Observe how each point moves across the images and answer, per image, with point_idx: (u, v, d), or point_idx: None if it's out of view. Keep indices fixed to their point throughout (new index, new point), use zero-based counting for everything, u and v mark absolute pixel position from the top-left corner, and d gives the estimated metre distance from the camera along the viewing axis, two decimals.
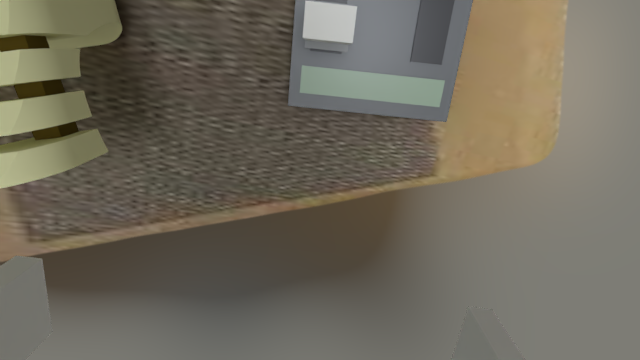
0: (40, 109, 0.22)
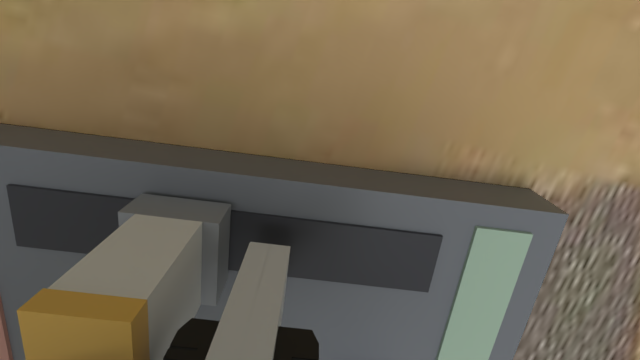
0: None
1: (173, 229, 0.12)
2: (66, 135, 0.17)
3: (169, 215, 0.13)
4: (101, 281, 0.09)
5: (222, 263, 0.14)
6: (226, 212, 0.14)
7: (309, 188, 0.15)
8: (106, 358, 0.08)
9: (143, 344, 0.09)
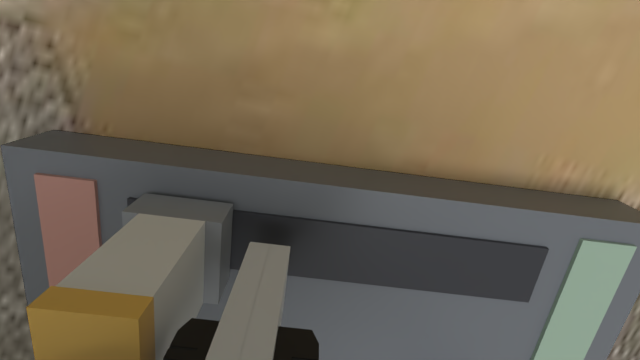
0: None
1: (177, 228, 0.12)
2: (172, 148, 0.17)
3: (172, 214, 0.13)
4: (108, 279, 0.09)
5: (224, 262, 0.15)
6: (228, 212, 0.14)
7: (423, 202, 0.15)
8: (113, 354, 0.09)
9: (149, 341, 0.09)
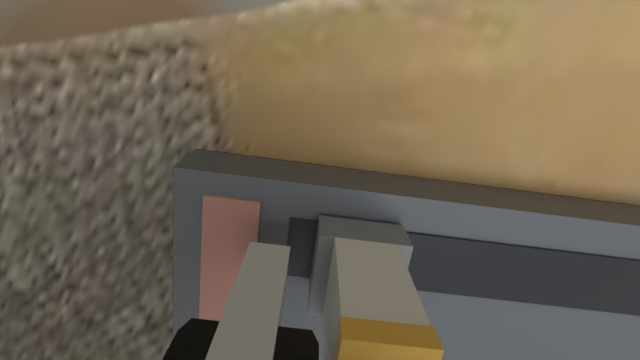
0: None
1: (382, 252, 0.13)
2: (315, 167, 0.17)
3: (364, 238, 0.14)
4: (377, 308, 0.10)
5: None
6: (406, 234, 0.15)
7: (573, 222, 0.16)
8: None
9: None
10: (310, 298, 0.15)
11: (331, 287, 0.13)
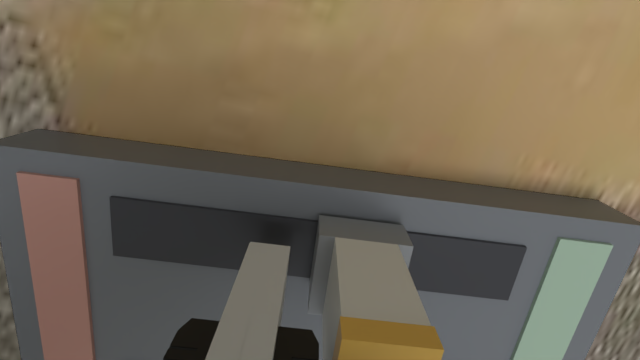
0: None
1: (382, 252, 0.13)
2: (156, 147, 0.17)
3: (365, 238, 0.14)
4: (378, 308, 0.10)
5: None
6: (407, 234, 0.15)
7: (402, 201, 0.15)
8: None
9: None
10: (310, 298, 0.15)
11: (331, 287, 0.13)
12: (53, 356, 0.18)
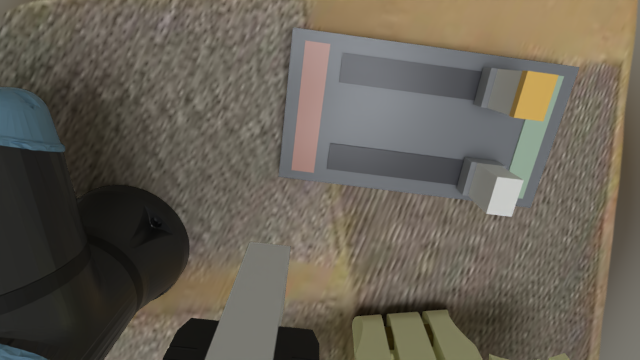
0: None
1: None
2: None
3: None
4: None
5: None
6: None
7: (470, 54, 0.35)
8: (546, 88, 0.29)
9: None
10: (483, 99, 0.34)
11: (501, 83, 0.32)
12: (299, 139, 0.38)
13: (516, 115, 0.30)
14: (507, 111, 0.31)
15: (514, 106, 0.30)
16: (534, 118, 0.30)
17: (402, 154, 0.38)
